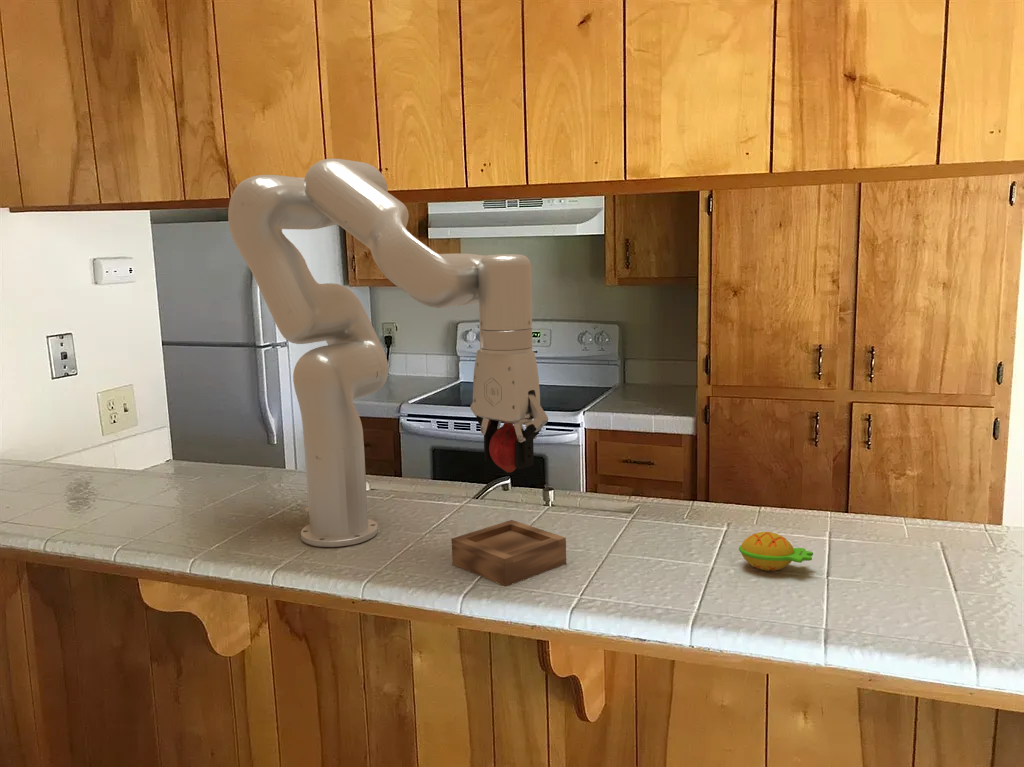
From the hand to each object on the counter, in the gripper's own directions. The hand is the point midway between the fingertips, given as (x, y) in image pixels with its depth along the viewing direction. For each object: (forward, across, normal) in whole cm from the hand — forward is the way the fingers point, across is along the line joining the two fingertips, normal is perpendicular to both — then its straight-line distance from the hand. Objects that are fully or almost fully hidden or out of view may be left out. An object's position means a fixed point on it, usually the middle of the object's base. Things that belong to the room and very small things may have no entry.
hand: (508, 462), depth 124 cm
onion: (+2, 0, 0) cm, 2 cm away
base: (+15, +1, -1) cm, 15 cm away
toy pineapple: (+15, +30, +23) cm, 41 cm away
